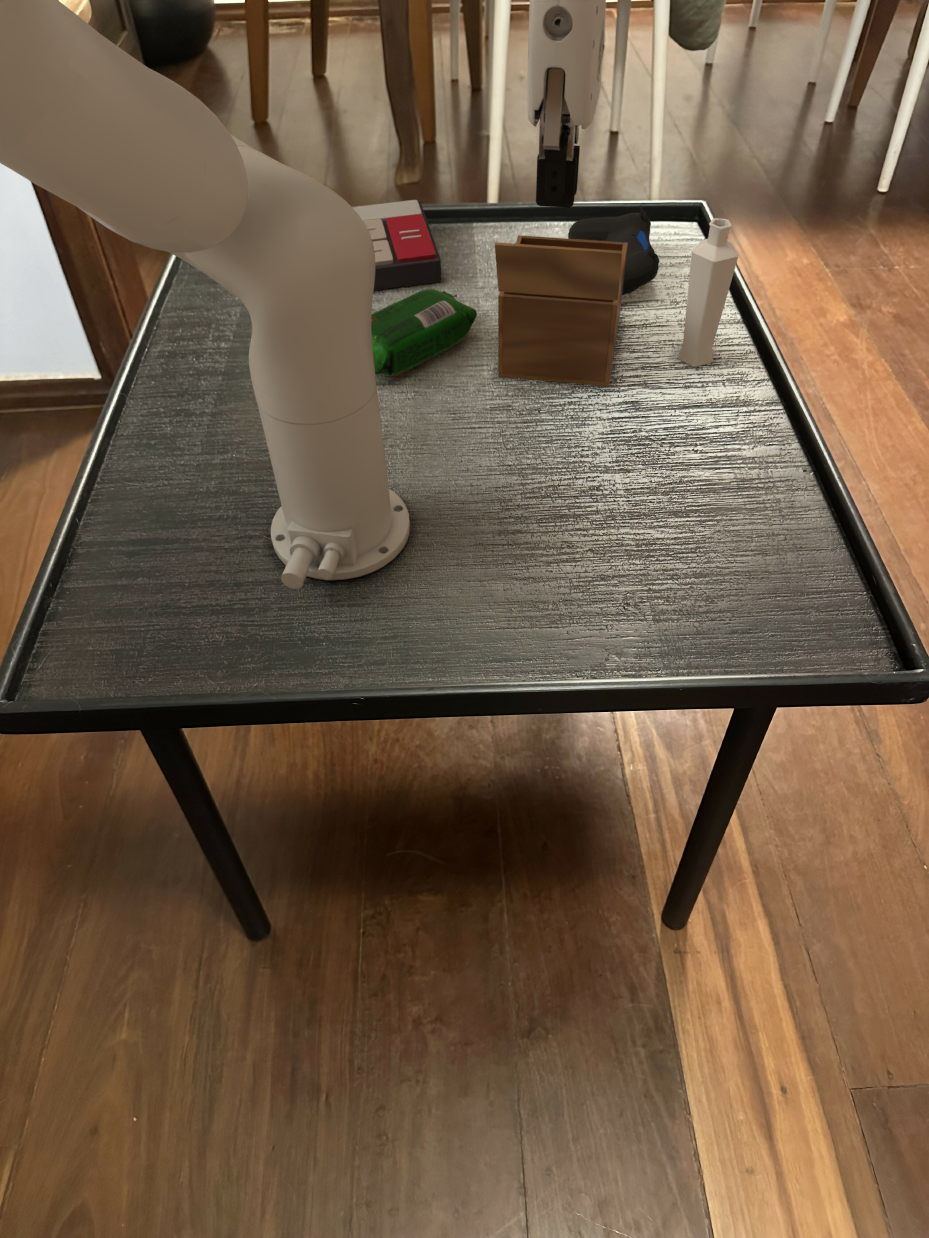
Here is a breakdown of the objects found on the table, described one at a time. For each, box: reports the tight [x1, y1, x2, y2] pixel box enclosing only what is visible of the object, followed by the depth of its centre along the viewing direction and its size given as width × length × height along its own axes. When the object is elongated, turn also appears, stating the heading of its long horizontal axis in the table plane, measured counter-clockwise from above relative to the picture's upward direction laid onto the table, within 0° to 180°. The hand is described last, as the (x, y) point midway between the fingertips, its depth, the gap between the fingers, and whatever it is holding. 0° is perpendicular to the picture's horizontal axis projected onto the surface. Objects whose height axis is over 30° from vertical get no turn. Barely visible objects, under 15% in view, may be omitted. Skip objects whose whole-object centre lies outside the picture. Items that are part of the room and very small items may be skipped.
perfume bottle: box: [676, 217, 740, 368], centre depth 95 cm, size 5×4×15 cm
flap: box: [494, 242, 622, 301], centre depth 88 cm, size 6×12×1 cm
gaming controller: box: [567, 205, 660, 296], centre depth 111 cm, size 17×6×10 cm
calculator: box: [351, 199, 442, 291], centre depth 116 cm, size 11×4×15 cm
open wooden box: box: [497, 234, 628, 387], centre depth 99 cm, size 13×12×10 cm
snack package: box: [371, 288, 478, 377], centre depth 101 cm, size 7×16×5 cm, turn 131°
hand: (556, 198), depth 78 cm, fingers closed
